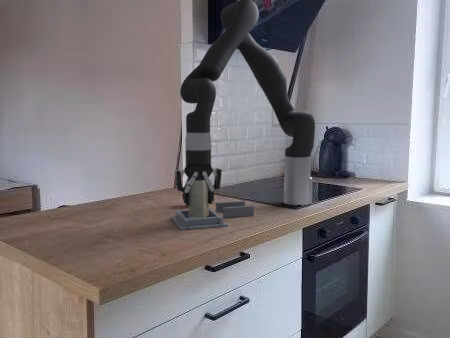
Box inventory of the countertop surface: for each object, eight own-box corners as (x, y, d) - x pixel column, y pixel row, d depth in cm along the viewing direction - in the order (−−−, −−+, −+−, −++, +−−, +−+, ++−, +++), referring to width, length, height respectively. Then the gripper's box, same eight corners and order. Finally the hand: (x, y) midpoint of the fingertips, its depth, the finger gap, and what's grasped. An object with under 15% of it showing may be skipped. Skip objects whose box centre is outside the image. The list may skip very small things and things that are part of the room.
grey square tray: (213, 214, 132) (213, 206, 131) (228, 226, 118) (228, 217, 118) (170, 218, 127) (170, 209, 127) (180, 230, 114) (180, 220, 114)
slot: (243, 209, 140) (243, 200, 139) (253, 215, 131) (253, 206, 131) (215, 211, 136) (215, 202, 136) (224, 217, 128) (224, 208, 128)
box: (209, 215, 124) (209, 179, 122) (203, 218, 120) (204, 181, 118) (193, 213, 126) (193, 177, 124) (187, 216, 122) (187, 179, 120)
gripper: (217, 146, 126) (217, 200, 128) (171, 147, 121) (172, 203, 123) (225, 148, 119) (225, 205, 121) (176, 149, 114) (177, 208, 116)
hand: (198, 203), depth 122 cm, fingers closed on box, 6 cm apart
